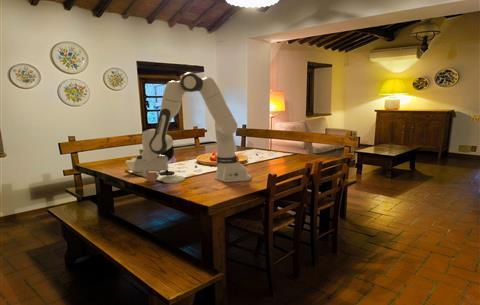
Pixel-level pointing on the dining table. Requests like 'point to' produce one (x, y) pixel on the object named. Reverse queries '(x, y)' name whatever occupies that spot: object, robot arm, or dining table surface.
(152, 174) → the orange cube
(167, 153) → the wine glass
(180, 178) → the tile
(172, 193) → the dining table surface
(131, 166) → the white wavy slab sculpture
